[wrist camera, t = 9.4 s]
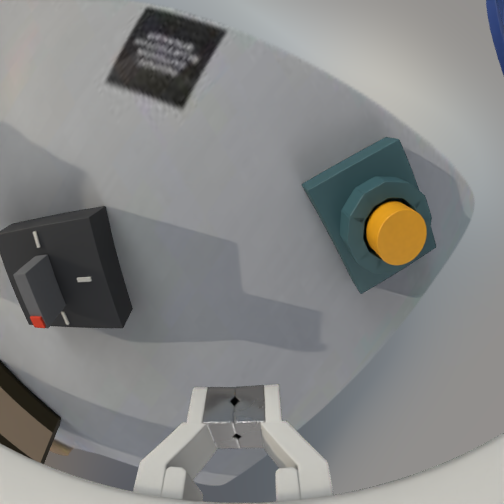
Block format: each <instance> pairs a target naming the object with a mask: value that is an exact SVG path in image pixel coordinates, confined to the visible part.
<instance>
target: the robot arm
mask: <svg viewBox="0 0 504 504" xmlns="http://www.w3.org/2000/svg"><path fill="white" fill-rule="evenodd" d="M234 448H264V450H265V451H266V452H267V454H268V455H269V456H270V457H271V459H272V460H273V461H274V463H275V464H276V465H277V466H278V468H279V469H278V470H277V471H276V502H262V503H220V502H203V501H202V500H203V499H202V498H203V494H202V492H201V491H200V489H199V488H198V487H197V486H196V484H195V483H194V481H193V480H194V478H195V477H196V476H197V475H198V473H199V472H200V471H201V470H202V469H203V467H204V466H205V465H206V463H207V462H208V461H209V460H210V458H211V457H212V456H213V455H214V453H215V452H216V451H217V449H234ZM0 504H504V433H503V434H501V435H499V436H497V437H496V438H494V439H492V440H490V441H489V442H487V443H485V444H483V445H481V446H479V447H477V448H475V449H473V450H471V451H469V452H467V453H465V454H463V455H461V456H458V457H456V458H454V459H452V460H450V461H447V462H445V463H442V464H440V465H438V466H435V467H433V468H430V469H427V470H425V471H422V472H419V473H416V474H413V475H410V476H408V477H404V478H401V479H398V480H395V481H391V482H388V483H384V484H381V485H377V486H373V487H369V488H365V489H361V490H356V491H352V492H347V493H342V494H336V495H333V489H332V483H331V477H330V471H329V465H328V461H326V460H325V459H324V458H323V457H322V456H321V455H320V454H319V453H318V452H317V451H316V450H315V449H314V448H313V447H312V446H311V445H310V444H309V443H308V442H307V441H306V440H305V439H304V438H303V437H302V436H301V435H300V434H299V433H298V432H297V431H296V430H295V429H294V428H293V427H292V426H291V425H290V424H289V423H288V422H287V421H282V412H281V400H280V389H279V384H274V385H257V386H241V387H194V389H193V391H192V397H191V402H190V407H189V412H188V417H187V423H182V424H181V425H180V426H179V427H177V428H176V429H175V430H174V431H173V432H172V433H171V434H170V435H169V436H168V437H167V438H166V439H165V440H164V441H163V442H161V443H160V444H159V445H158V446H157V447H156V448H155V449H154V450H153V451H152V452H150V453H149V454H148V455H147V456H146V457H145V458H144V459H143V460H141V462H140V465H139V469H138V473H137V477H136V481H135V485H134V489H133V492H132V491H127V490H123V489H118V488H114V487H110V486H106V485H103V484H99V483H96V482H92V481H89V480H86V479H83V478H80V477H77V476H74V475H71V474H68V473H65V472H62V471H59V470H57V469H54V468H52V467H49V466H47V465H44V464H42V463H40V462H37V461H35V460H33V459H31V458H28V457H26V456H24V455H22V454H20V453H18V452H16V451H14V450H12V449H10V448H8V447H6V446H4V445H2V444H0Z"/></svg>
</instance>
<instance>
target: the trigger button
mask: <svg viewBox="0 0 504 504" xmlns="http://www.w3.org/2000/svg"><path fill="white" fill-rule="evenodd" d="M426 235H427V229H426V224H425V221H424V219H423V217H422V216H421V215H420V214H419V213H418V212H416V211H415V210H413V209H411V208H410V207H408V206H406V205H405V204H403V203H401V202H398V201H389V202H385V203H383V204H381V205H380V206H378V207H377V208H376V209H375V210H374V211H373V212H372V214H371V215H370V217H369V219H368V221H367V225H366V238H367V241H368V243H369V245H370V246H371V248H372V249H373V250H374V251H375V252H376V253H377V254H378V255H379V256H380V257H381V259H382V260H383V261H385V262H386V263H388V264H391V265H403V264H406V263H408V262H410V261H412V260H413V259H414V258H415V257H416V256H417V255H418V254H419V253H420V251H421V250H422V248H423V246H424V244H425V241H426Z"/></svg>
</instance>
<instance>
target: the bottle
mask: <svg viewBox="0 0 504 504" xmlns="http://www.w3.org/2000/svg"><path fill="white" fill-rule="evenodd" d="M60 421H61V418H60V417H59V416H58V415H56V414H55V413H54V412H53V411H52V410H50V409H49V408H48V407H47V406H46V405H45V404H43V403H42V402H41V401H40V400H39V399H38V398H37V397H36V396H34V395H33V394H32V393H31V392H30V391H29V390H28V389H27V388H26V387H25V386H24V385H23V384H22V383H21V382H20V381H19V380H18V379H17V378H16V377H15V376H14V375H13V374H12V373H11V372H10V371H9V370H8V369H7V368H6V367H5V366H4V365H3V364H2V363H1V361H0V444H2V445H4V446H6V447H8V448H10V449H12V450H14V451H16V452H18V453H20V454H22V455H24V456H26V457H28V458H31V459H33V460H35V461H37V462H40V463H42V464H44V462H45V460H46V457H47V455H48V452H49V449H50V447H51V445H52V442H53V440H54V437H55V435H56V433H57V430H58V428H59V426H60Z"/></svg>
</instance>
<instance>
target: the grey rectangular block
mask: <svg viewBox="0 0 504 504" xmlns="http://www.w3.org/2000/svg"><path fill="white" fill-rule="evenodd" d="M13 276H14V278H15V281H16V283H17V286H18V288H19V291H20V293H21V296H22V298H23V301H24V303H25V305H26V307H27V310H28V312H29V314H30V316H31V317H30V319H31V321H32V323H33V325H34V327H37V328H49V327H50V325H51V324H52V323H53V321H54V320H55V319H56V317H57V316H58V315H59V314H60V312H61V311H62V310H63V309H64V307H65V306H66V304H65V301H64V299H63V296H62V294H61V291H60V288H59V286H58V283H57V280H56V277H55V275H54V272H53V269H52V266H51V263H50V260H49V257H48V255H38V256H35V257H34V258H32V259H31V260H30V261H29V262H27V263H26V264H25V265H24V266H23V267H21V268H20V269H19V270H18V271H17V272H16V273H14V274H13Z"/></svg>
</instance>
